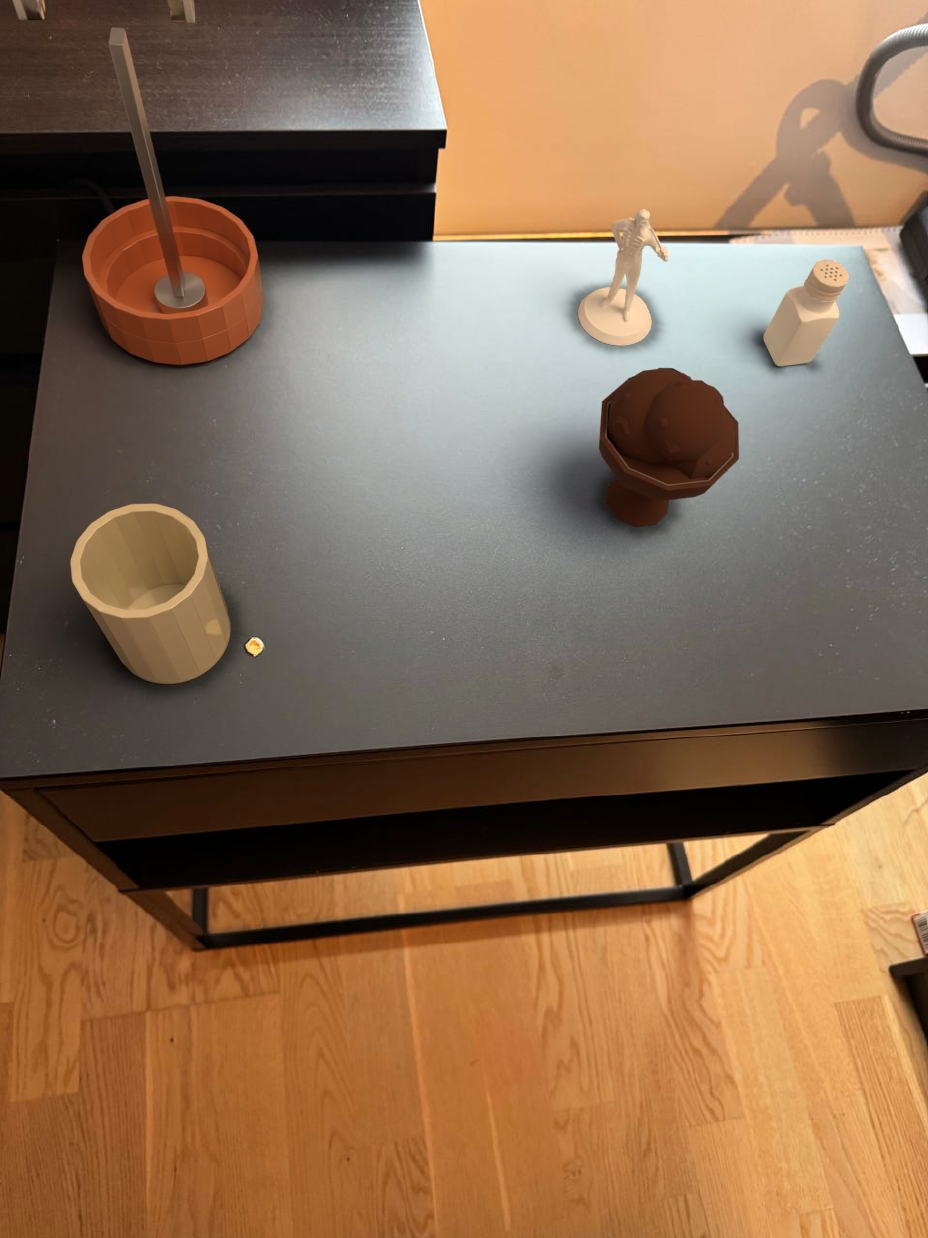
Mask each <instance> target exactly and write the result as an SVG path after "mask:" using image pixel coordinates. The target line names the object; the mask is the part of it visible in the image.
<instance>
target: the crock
mask: <svg viewBox="0 0 928 1238" xmlns="http://www.w3.org/2000/svg"><path fill="white" fill-rule="evenodd" d="M69 563H70V572H71V581H72V584H73V585H74V587H75V589H76V591H77V592H78V594H79V596H80V598H81V599H82V601H83V602H84V604H85V606H86V607H87V609H88V610H89V612H90V614H91V615H92V617H93V619H94V620H95V622H96V624H97V625H98V627H99V628H100V630H101V631H102V633H103V634H104V636H105V637H106V639H107V641H108V642H109V645H110V646H111V647H112V649H113V651H114V652H115V654H116V655H117V657H118V659H119V661H121V663H122V664H123V665H124V667H125V668H126V669H127V670H128V671H130V672H131V673H132V674H133V675H135V676H136V677H138V678H140V679H142V680H144V681H147V682H150V683H155V684H162V685H174V684H181V683H184V682H188V681H191V680H193V679H196V678H198V677H200V676H202V675H203V674H205V673H207V672H208V671H209V670H211V669H212V668H213V667H214V666H216V664H217V663H218V661H220V659H221V658H222V656H223V655H224V654H225V652H226V649H227V647H228V645H229V642H230V637H231V631H232V627H231V620H230V619H231V618H230V614H229V610H228V606H227V603H226V600H225V597H224V594H223V591H222V588H221V585H220V580H219V578H218V575H217V572H216V568H215V566H214V563H213V559H212V556H211V553H210V550H209V547H208V544H207V540H206V537H205V535H203V532H202V531H201V529H200V527H198V525H197V524H196V523H195V521H194V520H193V519H191V518H190V517H189V516H187V515H186V514H184V513H182V512H181V511H180V510H179V509H176V508H173V507H169V506H165V505H162V504H159V503H131V504H127V505H125V506H121V507H117V508H115V509H112V510H110V511H107V512H105V514H103V515H102V516H100V517H99V518H97V519H96V520H94V521H92V522H91V523H90V524H89V525H88V526H87V527H86V529H85V530H84V531H83V532H82V534H81V535H80V536H79V538H78V539H77V541H76V542H75V545H74V549H73V551H72V554H71V557H70V561H69Z"/></svg>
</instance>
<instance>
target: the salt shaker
mask: <svg viewBox="0 0 928 1238" xmlns="http://www.w3.org/2000/svg"><path fill="white" fill-rule="evenodd" d="M849 280H850V275H849V272H848V270H847V269H846V267H845V266H844V265H843V264H841V263H840V262H837V261H835V260H832V259H831V260H830V259H821V260H819V261H816V263H814V265H813V267H812V268H811V270H810V272H809V273H808V276H807V277H806V279H805V280H804V283H803V285H801V286H796V287H793V288H790V289H789V290H788V291H786V292H785V294H784V296H783V298H782V299H781V301H780V303H779V305H778V306H777V309H776V311H775V313H774V314H773V316H772V318H771V320H770V322H769V324H768V326H767V328H766V330H765V331H764V332H763V342H764V344H765V347H766V348H767V350H768V352H769V354H770V356H771V357H770V358H771V359H772V361H773V363H774V364H775V365H776V366H777V367H786V366H793V365H800V364H808V363H810V362H812V361H813V360H814V359H815V357H816V355H817V354H818V352H819V351H820V350H821V348H822V346H823V345H824V344H825V341H826V340H827V339H828V336H829V335H830V333H831V331H832V330H833V329H834V327H835V326H836V324H837V323H838V321H839V318H840V311H839V310H840V309H839V307H838V304H837V302H836V301H837V300H839V298H840V295H841V293H842V292H843V290H844V288H845V287H846V285H847V284H848V282H849Z"/></svg>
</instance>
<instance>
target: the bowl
mask: <svg viewBox="0 0 928 1238" xmlns="http://www.w3.org/2000/svg"><path fill="white" fill-rule="evenodd" d="M165 199H166V203H167V207H168V211H169V215H170V220H171V224H172V228H173V232H174V236H175V240H176V245H177V249H178V253H179V257H180V261H181V265H182V270H183V272H189V273H192V274H195V275H197V276H198V277H199V278H200V279H201V280H202V281H203V282H204V284H205V288H206V293H207V297H208V306H206V307H203V308H200V309H198V310H195V311H189V312H181V313H173V314H162V313H161V312H160V310H159V308H158V305H157V301H156V298H155V294H154V288H155V285H156V283H157V281H158V280H159V279H160V278H162V277H163V276H165V275H167V274H168V272H167V268H166V264H165V260H164V256H163V252H162V249H161V245H160V241H159V237H158V233H157V229H156V225H155V221H154V218H153V214H152V210H151V206H150V202H149V198H147V199H143V200H140V201H137V202H135V203H131V204H128V205H125V206H122V207H121V208H119V209H118V210H116V211H114V212H113V213H112V214H109V215H108V216H107V217H105V218H104V219H103V220H101V221H100V223H98V225H97V226H96V227H95V228H94V229H93V230H92V231H91V233H90V234H89V235H88V237H87V240H86V243H85V246H84V249H83V252H82V255H81V256H82V257H81V258H82V264H83V265H82V266H83V275H84V278H85V281H86V283H87V286H88V288H89V292H90V294H91V297H92V299H93V302H94V305H95V308H96V311H97V313H98V317H99V318H100V319H99V320H100V322H101V323H102V326H103V327H104V328H105V330H106V332H107V334H108V335H109V336H110V338H111V340H112V341H113V342H114V343H116V344H117V345H118V346H120V347H121V348H122V349H123V350H125V351H126V352H128V353H129V354H130V355H133V356H136V357H139V358H141V359H144V360H147V361H149V362H152V363H158V364H166V365H177V366H183V365H184V366H185V365H192V364H197V363H206V362H209V361H212V360H214V359H217V358H219V357H222V356H224V355H227V354H229V353H231V352H232V351H234V350H236V349H237V348H238V347H239V346H241V345H242V344H243V343H244V342H246V341H247V340H248V339H250V337H251V336H252V335H253V333H254V331H255V330H256V329H257V327H258V326H259V325H260V323H261V321H262V317H263V311H264V307H265V294H264V288H263V281H262V275H261V267H260V266H261V265H260V260H259V253H258V250H257V249H258V248H257V246H256V241H255V237H254V235H253V234H252V232H251V231H250V230H249V228H248V227H247V225H245V223H244V221H243V220H242V219H240V218H239V217H238V216H237V215H235V214H233V213H232V212H230V211H229V210H228V209H226V208H224V207H223V206H220V205H217V204H214V203H212V202H209V201H206V200H204V199H201V198H193V197H185V196H176V195H174V196H173V195H172V196H165Z"/></svg>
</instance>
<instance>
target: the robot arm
mask: <svg viewBox="0 0 928 1238" xmlns="http://www.w3.org/2000/svg"><path fill="white" fill-rule="evenodd" d="M12 3H13V7H14V9H15V12H16V15H17V18H18V20H20V21H44V20H45V14H46V3H45V0H12ZM167 6H168V9H169V11H170V14H169V15H170V21H171V23H173V24H174V23H175V24H195V23H196V9H195V8H196V7H195V1H194V0H167Z"/></svg>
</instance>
